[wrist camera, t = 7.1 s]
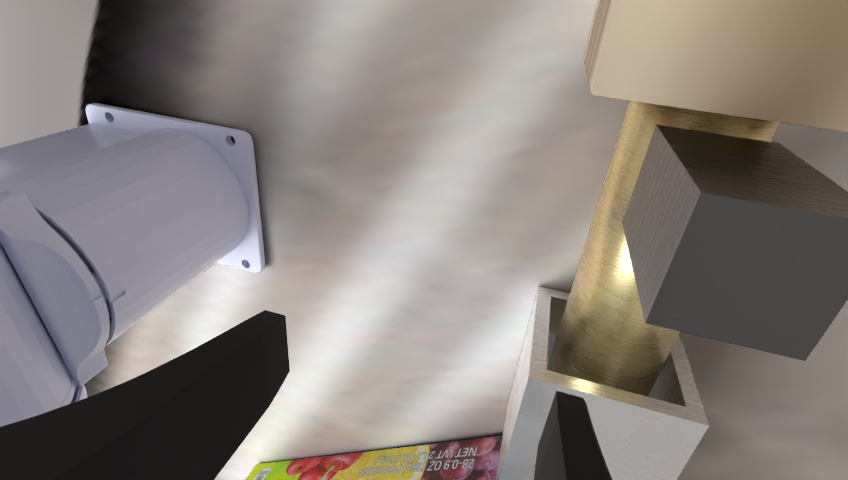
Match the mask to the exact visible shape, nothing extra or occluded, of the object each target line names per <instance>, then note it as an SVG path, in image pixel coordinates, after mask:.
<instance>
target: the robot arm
mask: <svg viewBox="0 0 848 480" xmlns="http://www.w3.org/2000/svg"><path fill="white" fill-rule="evenodd" d="M86 114H87V118H88V122H89V124H88V125H85V126H81V127H77V128H74V129H70V130H66V131H63V132H58V133H55V134H51V135H47V136H44V137H40V138H36V139H33V140H29V141H25V142H21V143H17V144H14V145H10V146H7V147H3V148H0V480H214V479H215V477H216V476H217V475H218V473H219V472H220V471H221V469H222V468H223V467H224V466H225V464H226V463H227V462H228V460H229V459H230V458H231V456H232V455H233V454H234V452H235V451H236V450H237V448H238V447H239V446H240V444H241V443H242V442H243V440H244V439H245V438H246V436H247V435H248V434H249V432H250V431H251V430H252V428H253V427H254V426H255V424H256V423H257V422H258V420H259V419H260V418H261V416H262V415H263V414H264V412H265V411H266V410H267V408H268V407H269V405H270V404H271V402H272V401H273V399H274V397H275V396H276V394H277V392H278V391H279V389H280V387H281V385H282V384H283V382H284V380H285V378H286V376H287V374H288V373H289V371H290V370H289V358H288V345H287V333H286V321H285V316H284V315H281V314H277V313H273V312H270V311H266V310H265V311H263V312H261V313H259V314H257V315H255V316H253V317H251V318H249V319H248V320H246V321H244V322H242V323H240V324H239V325H237V326H235V327H233V328H231V329H230V330H228V331H226V332H224V333H222V334H221V335H219V336H217V337H215V338H213V339H211V340H210V341H208V342H206V343H204V344H202V345H200V346H198V347H197V348H195V349H193V350H191V351H189V352H187V353H185V354H183V355H181V356H179V357H177V358H175V359H173V360H171V361H169V362H167V363H165V364H163V365H161V366H159V367H157V368H155V369H153V370H151V371H149V372H147V373H145V374H142V375H140V376H138V377H136V378H134V379H131V380H129V381H127V382H125V383H122V384H120V385H117V386H115V387H113V388H110V389H108V390H105V391H103V392H100V393H98V394H96V395H93V396H90V397H88V398H87V393H86V388H85V386H84V384H85V383H86V382H88V381H89V380H90V379H91V378H93V377H94V376H95V375H96V374H98V373H99V372H100V371H101V370H103V369H104V368H105V367H106V366H107V365H108V362H107V359H106V357H105V352H104V348H105V346H107V345H108V344H109V343H111V342H112V341H113V340H115V339H116V338H117V337H119V336H120V335H121V334H123V333H124V332H125V331H127V330H128V329H129V328H131V327H132V326H133V325H135V324H136V323H137V322H139V321H140V320H141V319H143V318H144V317H145V316H146V315H148V314H149V313H150V312H152V311H153V310H154V309H156V308H157V307H158V306H160V305H161V304H162V303H164V302H165V301H166V300H168V299H169V298H170V297H172V296H173V295H174V294H176V293H177V292H178V291H180V290H181V289H182V288H183V287H185V286H186V285H187V284H189V283H190V282H191V281H193V280H194V279H195V278H197V277H198V276H199V275H201V274H202V273H203V272H205V271H206V270H207V269H209V268H210V267H211V266H213V265H214V264H215V263H218V264H222V265H226V266H230V267H233V268H237V269H241V270H245V271H249V272H253V273H260V272H261V271H262V270H264V268H265V255H264V245H263V235H262V225H261V215H260V205H259V195H258V185H257V175H256V165H255V155H254V145H253V139H252V137H251V136H250V134H249V133H247V132H246V131H243V130H238V129H233V128H228V127H222V126H217V125H212V124H206V123H201V122H195V121H190V120H185V119H179V118H174V117H169V116H163V115H158V114H153V113H147V112H142V111H137V110H131V109H126V108H121V107H115V106H110V105H105V104H99V103H93V104H89V105H87V106H86ZM112 115H113V116H112ZM231 136H232V137H233V138H234V139H235V143H233V141H232V140H231ZM246 260H247V261H248V262H249V263H248V262H247V261H246ZM534 480H612V477H611V475H610V472H609V470H608V467H607V465H606V462H605V459H604V457H603V454H602V451H601V448H600V446H599V443H598V440H597V437H596V434H595V431H594V428H593V425H592V422H591V418H590V415H589V411H588V408H587V404H586V402H585V400H584V399H583V398H582V397H578V396H574V395H571V394H567V393H564V392H560V391H556V393H555V396H554V399H553V402H552V405H551V408H550V411H549V414H548V417H547V420H546V423H545V426H544V429H543V432H542V435H541V438H540V441H539V444H538V449H537V457H536V465H535V473H534Z"/></svg>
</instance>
